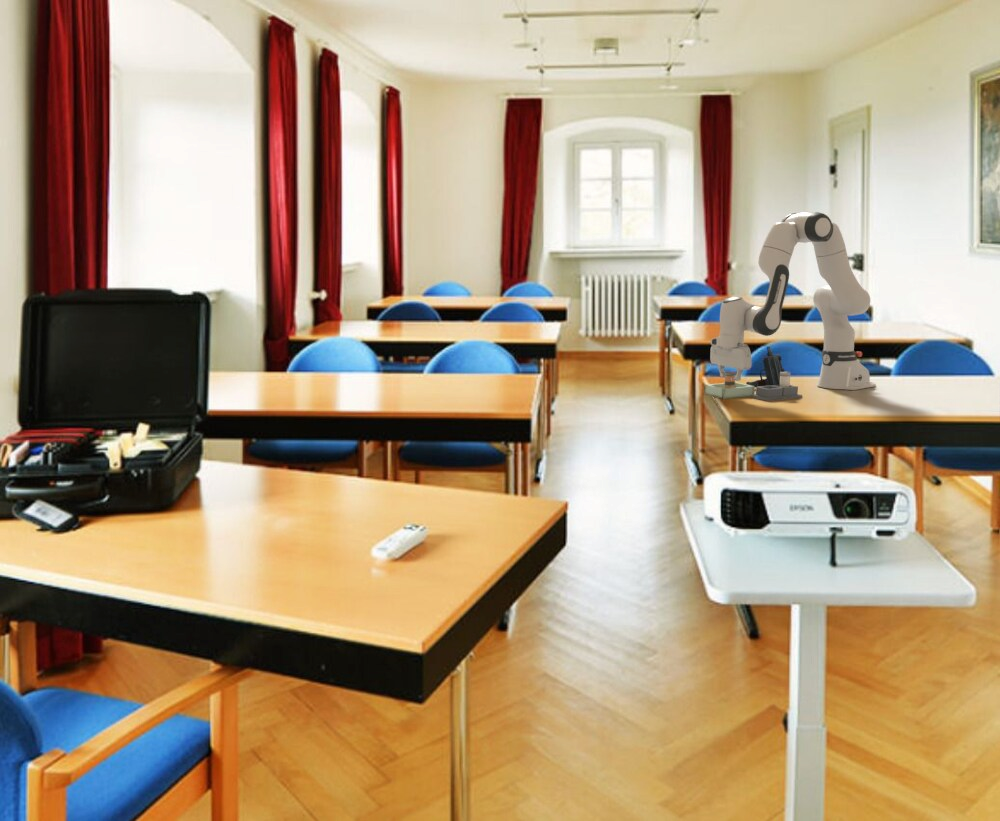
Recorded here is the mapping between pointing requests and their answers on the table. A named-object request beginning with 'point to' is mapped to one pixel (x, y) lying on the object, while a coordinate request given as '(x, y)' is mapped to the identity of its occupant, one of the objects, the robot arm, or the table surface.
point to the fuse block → (776, 393)
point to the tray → (729, 390)
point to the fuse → (784, 379)
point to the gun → (770, 370)
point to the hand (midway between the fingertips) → (730, 378)
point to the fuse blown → (729, 379)
